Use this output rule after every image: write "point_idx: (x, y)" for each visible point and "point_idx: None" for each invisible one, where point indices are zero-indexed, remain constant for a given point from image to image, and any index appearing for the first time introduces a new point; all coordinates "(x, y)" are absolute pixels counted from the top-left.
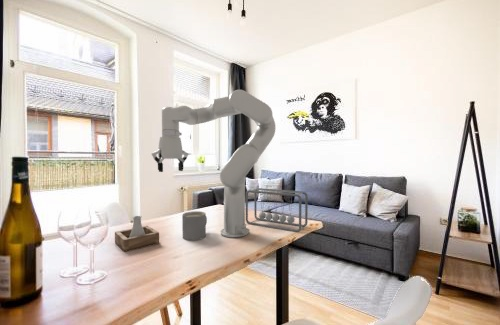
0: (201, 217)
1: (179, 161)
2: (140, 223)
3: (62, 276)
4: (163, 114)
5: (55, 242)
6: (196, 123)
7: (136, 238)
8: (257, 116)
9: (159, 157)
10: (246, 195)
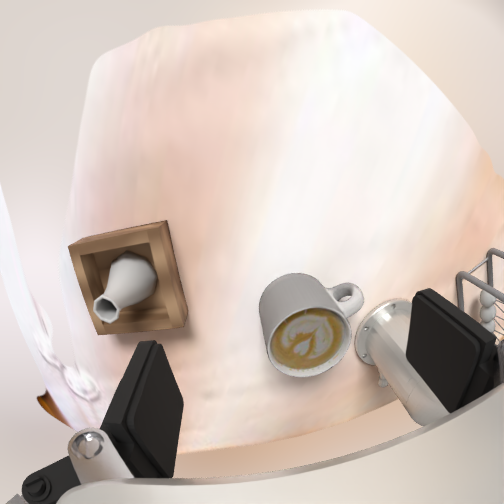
0: (316, 371)
1: (487, 376)
2: (123, 307)
3: (44, 357)
4: None
5: None
6: None
7: (124, 331)
8: None
9: (85, 498)
10: None
